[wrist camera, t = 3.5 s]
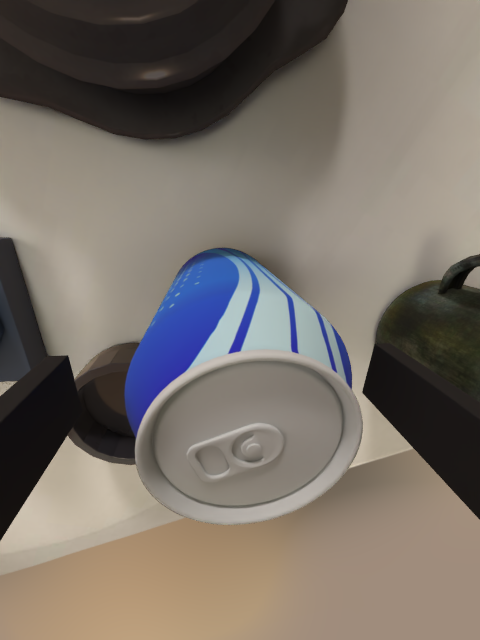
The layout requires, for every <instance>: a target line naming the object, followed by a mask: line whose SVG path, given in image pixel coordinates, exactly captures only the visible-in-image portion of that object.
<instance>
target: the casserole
mask: <svg viewBox="0 0 480 640" xmlns="http://www.w3.org/2000/svg"><path fill="white" fill-rule="evenodd" d="M347 1H348V0H0V97H4V98H9V99H14V100H18V101H23V102H27V103H32V104H37V105H41V106H46V107H49V108H52V109H54V110H57V111H59V112H62V113H64V114H66V115H69V116H71V117H74V118H76V119H79V120H81V121H83V122H86V123H88V124H91V125H93V126H96V127H98V128H101V129H103V130H106V131H108V132H111V133H113V134H117V135H123V136H129V137H134V138H140V139H164V138H177V137H180V136H183V135H187V134H190V133H193V132H197V131H200V130H203V129H205V128H207V127H208V126H210V125H212V124H213V123H215V122H217V121H219V120H220V119H222V118H224V117H226V116H227V115H229V114H230V113H231V112H232V111H233V110H234V109H235V108H236V107H237V106H238V105H239V104H240V103H241V102H242V101H243V100H244V99H246V98H247V97H248V96H249V95H250V94H251V93H252V92H253V91H254V90H255V89H256V88H257V87H258V86H259V85H260V84H261V83H262V82H263V81H264V80H265V79H266V78H267V77H268V76H269V75H271V74H272V73H273V72H274V71H275V70H277V69H278V68H280V67H282V66H284V65H285V64H287V63H289V62H290V61H292V60H294V59H295V58H297V57H299V56H301V55H302V54H304V53H305V52H307V51H308V50H310V49H311V48H313V47H314V46H316V45H317V44H318V43H320V42H321V41H323V40H324V39H326V38H327V36H328V35H329V33H330V32H331V30H332V29H333V27H334V26H335V25H336V23H337V22H338V20H339V19H340V17H341V16H342V14H343V13H344V10H345V7H346V4H347Z"/></svg>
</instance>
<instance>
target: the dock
mask: <svg viewBox="0 0 480 640" xmlns="http://www.w3.org/2000/svg"><path fill="white" fill-rule="evenodd" d="M139 344H140V343H127V344H121V345H117V346H114V347H111V348H108V349H106V350H104V351H102V352H101V353H99V354H98V355H96V356H95V357H94V358H93V359H92V360H91V361H90V362H89V363H88V364H87V365H86V366H85V367H84V368H83V369H82V370H81V372H80V373H79V374H78V375H77V376H76V378H75V379H74V380H75V384H76V388H77V392H78V395H79V399H80V403H81V407H82V411H83V412H82V413H81V415H80V416H79V418H78V419H77V421H76V423H75V424H74V426H73V427H72V429H71V430H70V432H69V434H68V436H69V438H70V439H71V440H72V441H73V443H74V444H75V445H76V446H78V447H79V448H81V449H82V450H84V451H85V452H87V453H88V454H90V455H92V456H93V457H96V458H99V459H102V460H105V461H107V462H111V463H119V464H127V465H134V464H136V461H135V443H136V437H135V435H134V433H133V431H132V428H131V426H130V423H129V420H128V417H127V413H126V407H125V383H126V377H127V373H128V370H129V367H130V363H131V360H132V358H133V356H134V354H135V352H136V350H137V348H138V346H139Z"/></svg>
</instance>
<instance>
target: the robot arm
mask: <svg viewBox="0 0 480 640" xmlns="http://www.w3.org/2000/svg"><path fill="white" fill-rule="evenodd" d="M362 393H363V394H364V395H365V396H366V397H367V398H368V399H369V400H370V401H371V402H372V404H373V405H374V406H375V407H376V408H377V409H378V410H379V411H380V412H381V413H382V414H383V415H384V417H385V418H386V419H387V420H388V421H389V422H390V423H391V424H392V425H393V426H394V427H395V428H396V430H397V431H398V432H399V433H400V434H401V435H402V436H403V437H404V438H405V439H406V440H407V441H408V443H409V444H410V445H411V446H412V447H413V448H414V449H415V450H416V451H417V452H418V453H419V454H420V456H421V457H422V458H423V459H424V460H425V461H426V462H427V463H428V464H429V465H430V466H431V467H432V469H434V471H435V472H436V473H437V474H438V475H439V476H440V477H441V478H442V479H443V480H444V481H445V483H446V484H447V485H448V486H449V487H450V488H451V489H452V490H453V491H454V492H455V493H456V494H457V496H458V497H459V498H460V499H461V500H462V501H463V502H464V503H465V504H466V505H467V506H468V507H469V509H470V510H471V511H472V512H473V513H474V514H475V515H476V516H477V517H478V518H479V519H480V402H479V401H477V400H476V399H474V398H473V397H471V396H469V395H468V394H466V393H465V392H463V391H462V390H460V389H459V388H457V387H456V386H454V385H453V384H451V383H450V382H448V381H447V380H445V379H444V378H442V377H441V376H439V375H438V374H436V373H434V372H433V371H431V370H430V369H428V368H427V367H425V366H424V365H422V364H421V363H419V362H418V361H416V360H415V359H413V358H412V357H410V356H409V355H407V354H406V353H404V352H403V351H401V350H399V349H398V348H396V347H395V346H393V345H392V344H390V343H382V344H375V345H374V349H373V353H372V357H371V361H370V365H369V368H368V372H367V376H366V380H365V384H364V387H363V391H362ZM82 412H83V411H82V407H81V403H80V399H79V395H78V392H77V388H76V384H75V380H74V376H73V372H72V369H71V365H70V361H69V357H68V356H47V357H45V358H44V359H43V360H42V361H41V362H40V363H38V364H37V365H36V366H35V367H34V368H33V369H31V370H30V371H29V372H28V373H27V374H26V375H24V376H23V377H22V378H21V379H20V380H19V381H18V382H16V383H15V384H14V385H13V386H12V387H11V388H9V389H8V390H7V391H6V392H5V393H4V394H2V395H1V396H0V540H1V539H2V537H3V536H4V534H5V533H6V531H7V529H8V528H9V526H10V525H11V523H12V522H13V520H14V518H15V517H16V515H17V514H18V512H19V511H20V509H21V507H22V506H23V504H24V503H25V501H26V500H27V498H28V496H29V495H30V493H31V492H32V490H33V489H34V487H35V485H36V484H37V482H38V481H39V479H40V478H41V476H42V474H43V473H44V471H45V470H46V468H47V467H48V465H49V463H50V462H51V460H52V459H53V457H54V456H55V454H56V452H57V451H58V449H59V448H60V446H61V445H62V443H63V441H64V440H65V438H66V437H67V435H68V434H69V432H70V430H71V429H72V427H73V426H74V424H75V423H76V421H77V419H78V418H79V416H80V415H81V413H82Z"/></svg>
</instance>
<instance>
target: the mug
mask: <svg viewBox="0 0 480 640" xmlns="http://www.w3.org/2000/svg"><path fill="white" fill-rule="evenodd" d="M478 266H480V254H479V255H475V256H470V257H468V258H466V259H464V260H462V261H460V262H458V263H456V264H454V265H452V266H451V267H450V268H449V269H448V271H447V272H446V273H445V274H444V276H443V279H442V280H435V281H429V282H425V283H422V284H420V285H417V286H415V287H412V288H411V289H409V290H407V291H405V292H404V293H403V294H401V295H400V296H399V297H398V298H397V299H395V300H394V301H393V302H392V304H391V305H390V306H389V307H388V309H387V310H386V312H385V313H384V315H383V317H382V319H381V321H380V323H379V326H378V330H377V341H376V342H377V344H382V343H390V344H392V345H393V346H395V347H396V348H398V349H399V350H401V351H403V352H404V353H406V354H407V355H409V356H410V357H412V358H413V359H415V360H416V361H418V362H419V363H421V364H422V365H424V366H425V367H427V368H428V369H430V370H431V371H433V372H434V373H436V374H438V375H439V376H441V377H442V378H444V379H445V380H447V381H448V382H450V383H451V384H453V385H454V386H456V387H457V388H459V389H460V390H462V391H463V392H465V393H466V394H468V395H469V396H471V397H473V398H474V399H476V400H477V401H479V402H480V289H477V288H473V287H469V286H465V285H463V284H464V281H465V279H466V278H467V276H468V274H469V273H470V272H471V271H472V270H473V269H474V268H476V267H478Z"/></svg>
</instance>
